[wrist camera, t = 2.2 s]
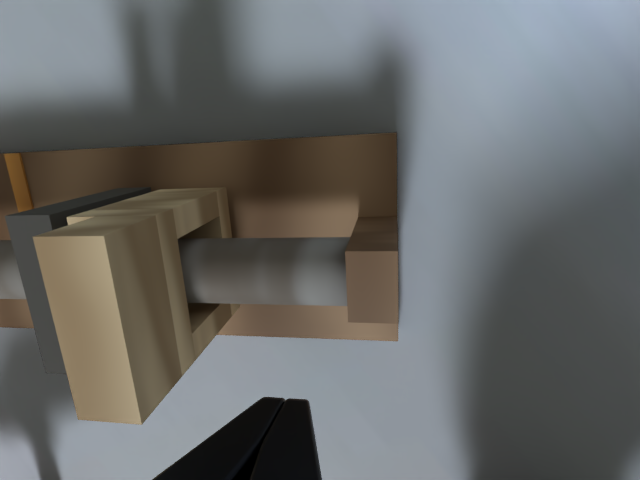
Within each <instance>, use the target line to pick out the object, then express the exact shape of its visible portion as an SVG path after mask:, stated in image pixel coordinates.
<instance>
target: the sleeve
mask: <svg viewBox="0 0 640 480" xmlns="http://www.w3.org/2000/svg"><path fill="white" fill-rule="evenodd" d="M66 218H67V223H68V226H64V227H61V228H58V229H55V230H52V231H49V232H46V233H43V234H40V235H37V236H33V240H34V244H35V248H36V253H37V257H38V261H39V265H40V269H41V273H42V277H43V281H44V285H45V289H46V293H47V297H48V301H49V305H50V309H51V313H52V317H53V321H54V325H55V329H56V333H57V337H58V341H59V345H60V349H61V353H62V357H63V361H64V365H65V369H66V373H67V377H68V381H69V385H70V389H71V393H72V397H73V401H74V405H75V409H76V413H77V417H78V420H90V421H102V422H115V423H128V424H140V425H142V424H143V423H144V421H145V420H146V419H147V418H148V417H149V415H150V414H151V413H152V412H153V411H154V409H155V408H156V407H157V406H158V405H159V403H160V402H161V401H162V400H163V399H164V397H165V396H166V395H167V394H168V393H169V391H170V390H171V389H172V388H173V387H174V385H175V384H176V383H177V382H178V381H179V379H180V378H181V377H182V376H183V375H184V373H185V372H186V371H187V370H188V369H189V367H190V366H191V365H192V364H193V362H194V361H195V360H196V359H197V358H198V356H199V355H200V354H201V353H202V352H203V350H204V349H205V348H206V347H207V346H208V344H209V343H210V342H211V341H212V340H213V338H214V337H215V336H216V335H217V334H218V332H219V331H220V330H221V329H222V328H223V326H224V325H225V324H226V323H227V322H228V320H229V319H230V318H231V317H232V316H233V314H234V313H235V312H236V311H237V310H238V308H239V307H240V304H224V303H187V298H186V292H185V285H184V279H183V272H182V266H181V259H180V252H179V246H178V239H187V238H232V233H231V225H230V216H229V207H228V199H227V190H226V187H219V188H188V189H160V190H156V191H153V192H150V193H146V194H143V195H140V196H136V197H133V198H129V199H126V200H123V201H119V202H116V203H113V204H109V205H106V206H102V207H99V208H96V209H92V210H89V211H85V212H82V213H79V214H75V215H72V216H69V217H66Z"/></svg>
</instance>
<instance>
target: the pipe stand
mask: <svg viewBox="0 0 640 480" xmlns="http://www.w3.org/2000/svg"><path fill="white" fill-rule="evenodd" d="M137 187H151V192H153V191H156V190H160V189H188V188H219V187H226V190H227V199H228V207H229V216H230V225H231V233H232V238H187V239H178V246H179V252H180V259H181V266H182V272H183V279H184V285H185V292H186V298H187V303H224V304H240V307H239V308H238V310H237V311H236V312H235V313H234V314H233V316H232V317H231V318H230V319H229V320H228V322H227V323H226V324H225V325H224V326H223V328H222V329H221V330H220V331H219V332H218V334H217V335H237V336H265V337H294V338H322V339H350V340H378V341H398V228H397V132H395V133H376V134H357V135H338V136H319V137H300V138H282V139H263V140H244V141H225V142H206V143H187V144H169V145H150V146H131V147H112V148H93V149H75V150H56V151H37V152H18V153H0V327H11V328H34V326H33V322H32V318H31V314H30V310H29V307H28V303H27V299H26V295H25V292H24V288H23V284H22V280H21V276H20V273H19V269H18V265H17V261H16V257H15V254H14V250H13V246H12V242H11V239H10V235H9V231H8V227H7V223H6V220H5V216H6V215H10V214H14V213H18V212H23V211H27V210H31V209H35V208H39V207H43V206H47V205H51V204H55V203H59V202H63V201H67V200H71V199H75V198H79V197H84V196H88V195H92V194H96V193H100V192H104V191H108V190H112V189H116V188H137Z"/></svg>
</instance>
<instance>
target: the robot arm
mask: <svg viewBox="0 0 640 480" xmlns="http://www.w3.org/2000/svg"><path fill="white" fill-rule="evenodd" d="M152 480H322V477H321V471H320V465H319V459H318V453H317V446H316V440H315V434H314V428H313V422H312V416H311V410H310V404H309V401H308V400H306V399H287V400H285V399H283V398H275V397H263V398H261V399H260V400H259V401H257V402H256V403H254V404H253V405H252V406H250V407H249V408H248V409H246V410H245V411H244V412H242V413H241V414H240V415H238V416H237V417H236V418H234V419H233V420H232V421H230V422H229V423H228V424H226V425H225V426H224V427H222V428H221V429H220V430H218V431H217V432H215V433H214V434H213V435H211V436H210V437H209V438H207V439H206V440H205V441H203V442H202V443H201V444H199V445H198V446H197V447H195V448H194V449H193V450H191V451H190V452H189V453H187V454H186V455H185V456H183V457H182V458H181V459H179V460H178V461H176V462H175V463H174V464H172V465H171V466H170V467H168V468H167V469H166V470H164V471H163V472H162V473H160V474H159V475H158V476H156V477H155V478H154V479H152Z"/></svg>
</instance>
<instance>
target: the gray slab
mask: <svg viewBox="0 0 640 480" xmlns="http://www.w3.org/2000/svg"><path fill="white" fill-rule="evenodd" d="M150 192H151V187H137V188H116V189H112V190H108V191H104V192H100V193H96V194H92V195H88V196H84V197H79V198H75V199H71V200H67V201H63V202H59V203H55V204H51V205H47V206H43V207H39V208H35V209H31V210H27V211H23V212H18V213H14V214H10V215H6V216H5V220H6V223H7V227H8V231H9V235H10V239H11V242H12V246H13V250H14V254H15V257H16V261H17V265H18V269H19V273H20V276H21V280H22V284H23V288H24V292H25V295H26V299H27V303H28V307H29V310H30V314H31V318H32V322H33V326H34V329H35V333H36V337H37V341H38V344H39V348H40V352H41V356H42V360H43V363H44V367H45V371H46V373H57V374H67V373H66V369H65V365H64V361H63V357H62V353H61V349H60V345H59V341H58V337H57V333H56V329H55V325H54V321H53V317H52V313H51V309H50V305H49V301H48V297H47V293H46V289H45V285H44V281H43V277H42V273H41V269H40V265H39V261H38V257H37V253H36V248H35V244H34V240H33V236H37V235H40V234H43V233H46V232H49V231H52V230H55V229H58V228H61V227H64V226H68V223H67V218H66V217H69V216H72V215H75V214H79V213H82V212H85V211H89V210H92V209H96V208H99V207H102V206H106V205H109V204H113V203H116V202H119V201H123V200H126V199H129V198H133V197H136V196H140V195H143V194H146V193H150Z"/></svg>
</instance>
